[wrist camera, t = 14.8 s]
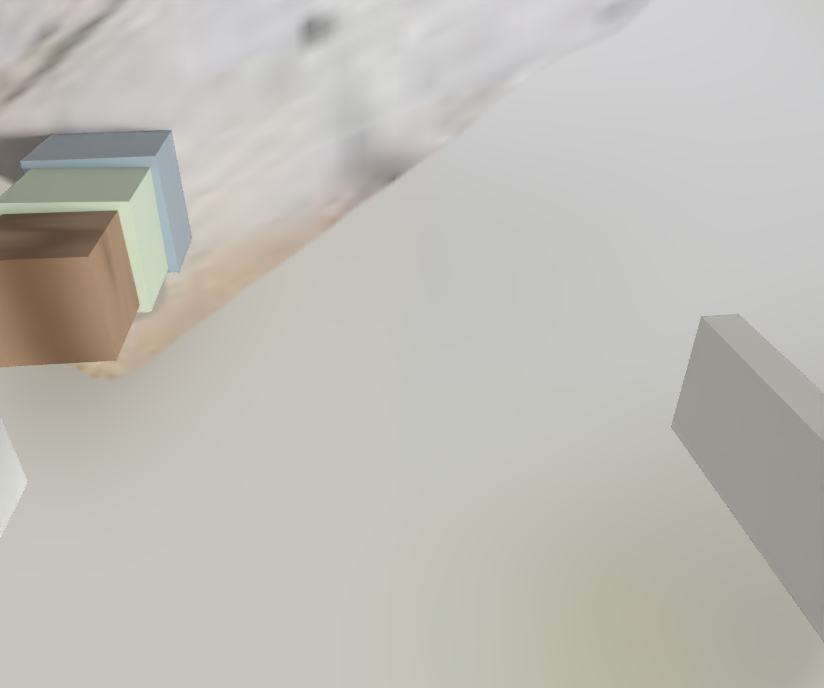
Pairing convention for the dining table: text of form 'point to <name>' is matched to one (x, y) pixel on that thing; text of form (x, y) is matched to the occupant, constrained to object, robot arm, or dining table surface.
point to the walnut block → (64, 288)
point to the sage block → (102, 193)
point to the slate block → (127, 152)
